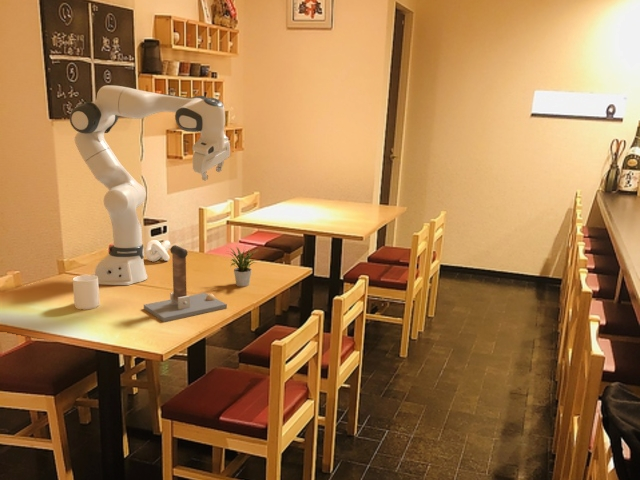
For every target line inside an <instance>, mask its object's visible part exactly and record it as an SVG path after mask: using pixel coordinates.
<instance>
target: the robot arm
mask: <svg viewBox="0 0 640 480" xmlns="http://www.w3.org/2000/svg"><path fill="white" fill-rule="evenodd" d="M98 89H99V90H98V91H97V94H96V99H95V101H88V102H85V103H82V104H80V105H77V106H76V107H74V108H73V109H72V111H70V114H69V123H70V125H71V127H72V128H73V129H74V131H75V132H77V133H76V134H75V136H74V144H75V145H76V149H77V150H78V153H79V154H80V156H81V158H82V159H83V161H84V162H85V164H86V165H87V167H88V169H89V171H90V172H91V173H92V174H93V176H94V178H95V179H96V180H97V181H98V182H99V183H101V184H102V185H104V187H105V188H107V190H108V191H107V192H106V194H105V195H104V197H103V205H104V207H105V210H107V211H108V214H109V219H110V222H111V227H112V228H111V229H112V238H113V239H112V240H113V243H110V244H109V245H108V250H107V251H108V255H107V256H105V257H104V258H103V259H101V260H100V261H99V262H98V263H97V264H96V266H95V270H94V273H93V274H92V275H95V276H97V277H98V285H105V286H107V285H109V286H113V285H114V286H129V285H132V284H135V283H140V282H143V281H145V280H147V279H148V275H147V271H146V270H147V269H146V267H145V263H144V262H145V261H144V258H145V252H144V250H145V247H144V244H143V235H142V233H143V232H142V231H143V230H142V224H141V223H140V220H139V218H138V213H137V208H140V207H141V206H142V205H143V203H144V202H145V200H146V197H147V192H146V189H145V187H144V186H143V185H142V184H141V183H139V182H138V181H137V180H136V179H135V178H134V177H133V176H132V175H131V174H130V172H129V171H128V170H126V168H125V167H124V166H123V164H122V163H121V162H120V160H119V159H118V158H117V156H116V154H115V153H114V151H113V150H112V148H111V147H110V145H109V144H108V143H107V141H106V138H105V134H108V133H110V131H111V130H112V128H113V127H114V126H115V125H116V124H117V122H118V120H119V117H122V118H128V119H134V120H135V119H136V120H138V119H139V120H140V119H144V118H146V117H147V118H148V117H149V116H152V115H154V114H158V113H162V112H169V113H175V115H174V119H175V123H176V125H177V126H178V127H179V128H180V129H181V130H182V131H184V132H190V133H199V132H200V137H199V138H198V140H197V141H196V142H195V143H194V144H193V145H192V147H191V148H192V152H193V154H192V170H193V171H194V172H195V173H197V174H200V175H201V180H202V181H207V180H209V175H207V173H208V170H210V169H212V168H213V167H215V166H216V168H215V171H216V172H218V173H221V172H222V171H223V166H224V163H225V160H227V159H229V158H230V156H231V144H230V141H229V137H228V136H227V134H225V127H226V126H225V125H226V111H225V110H226V109H225V106H224V103H223V102H222V101H221V100H219V99H218V98H215V97H206V96H204V95H197V96H196V95H195V96H192V97H191V96H190V97H187V96H182V95H181V96H178V95H173V94H167V93H166V94H165V93H158V92H153V91H152V92H150V91H145V90H142V89H136V88H132V87H127V86H122V85H121V86H120V85H112V84H111V85H103V86H101V87H100V88H98Z"/></svg>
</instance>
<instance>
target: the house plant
mask: <svg viewBox="0 0 640 480" xmlns="http://www.w3.org/2000/svg"><path fill="white" fill-rule="evenodd" d="M244 247H246V245H244ZM227 248H228V249H230V250H231V251H227V250H226V251H225V254H228V255H231V256H232V255H233V256H232V258H233V259H231V261H232V262H231V264H230V268H231V267H232V266H235V265H236V268H234V269H233V273H234V279H235V285H236V286H237V287H248V286H250V281H251V277H252V268H250V267H251V265H252V264H255V263H256V261H257V259H251V257H252V256H253V255H254V254H255V253H257V252H258V249H256V250H254V251H253V252H251V253H250V251H251V250H250V249H251V248H249V249H248V251H247V253H246V256H245V257H244V254H245V248H243V251H242V253H241V250H240V249H239V247H238V246H236V247H235V248H236V250H237V253H238V254H236V252H235V250H234V249H233V248H232V247H229V246H227ZM227 252H228V253H227ZM229 252H230V253H229ZM250 259H251V260H250Z"/></svg>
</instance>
